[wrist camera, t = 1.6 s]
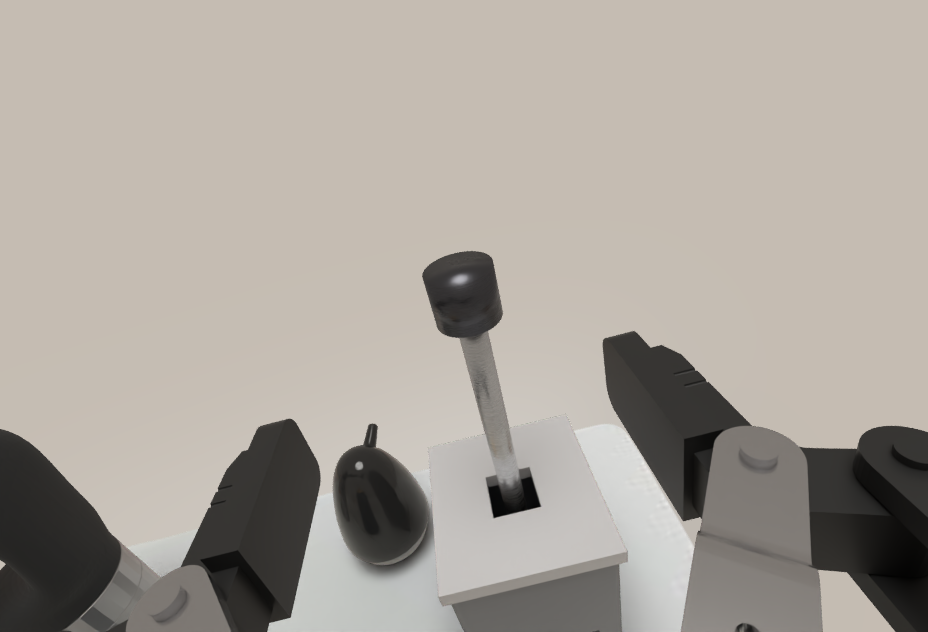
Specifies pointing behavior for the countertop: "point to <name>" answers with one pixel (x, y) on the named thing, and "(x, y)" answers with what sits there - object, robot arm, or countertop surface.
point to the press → (525, 536)
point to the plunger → (477, 351)
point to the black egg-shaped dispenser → (378, 504)
